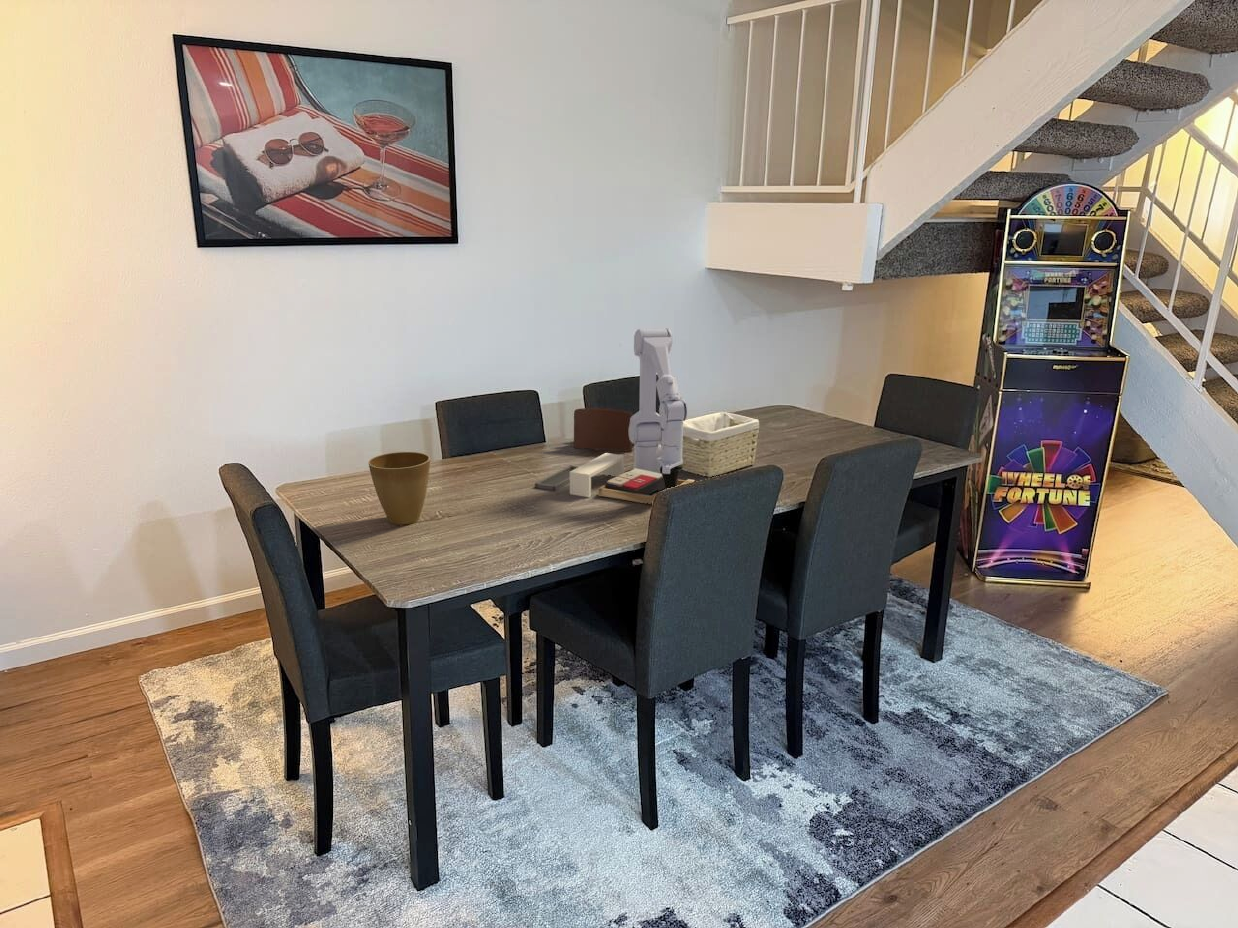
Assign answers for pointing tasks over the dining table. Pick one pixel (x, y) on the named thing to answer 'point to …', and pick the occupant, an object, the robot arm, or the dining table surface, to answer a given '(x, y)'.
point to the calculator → (637, 482)
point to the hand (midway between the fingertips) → (670, 491)
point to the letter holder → (602, 429)
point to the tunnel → (583, 474)
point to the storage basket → (718, 443)
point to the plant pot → (401, 484)
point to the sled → (632, 496)
